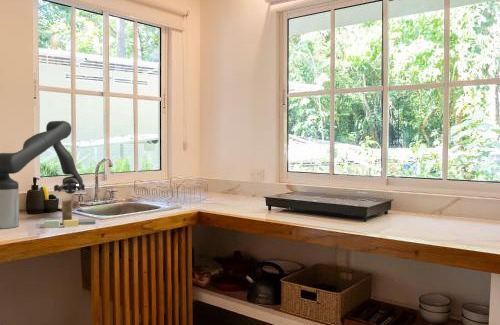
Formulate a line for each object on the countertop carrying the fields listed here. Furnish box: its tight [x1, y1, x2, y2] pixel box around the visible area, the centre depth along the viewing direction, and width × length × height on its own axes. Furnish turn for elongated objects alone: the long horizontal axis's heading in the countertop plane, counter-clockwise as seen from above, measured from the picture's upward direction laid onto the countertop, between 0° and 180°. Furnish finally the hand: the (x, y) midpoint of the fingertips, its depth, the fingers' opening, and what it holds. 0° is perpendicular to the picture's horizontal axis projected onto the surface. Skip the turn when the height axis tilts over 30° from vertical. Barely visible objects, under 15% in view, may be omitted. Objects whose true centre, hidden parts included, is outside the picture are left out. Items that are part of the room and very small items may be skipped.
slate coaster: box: [77, 218, 97, 226], centre depth 211 cm, size 8×8×1 cm
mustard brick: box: [62, 218, 79, 228], centre depth 203 cm, size 6×3×3 cm, turn 121°
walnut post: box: [61, 199, 73, 226], centre depth 208 cm, size 4×4×11 cm
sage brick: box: [43, 219, 61, 229], centre depth 201 cm, size 6×3×3 cm, turn 104°
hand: (68, 189), depth 219 cm, fingers open, 8 cm apart
